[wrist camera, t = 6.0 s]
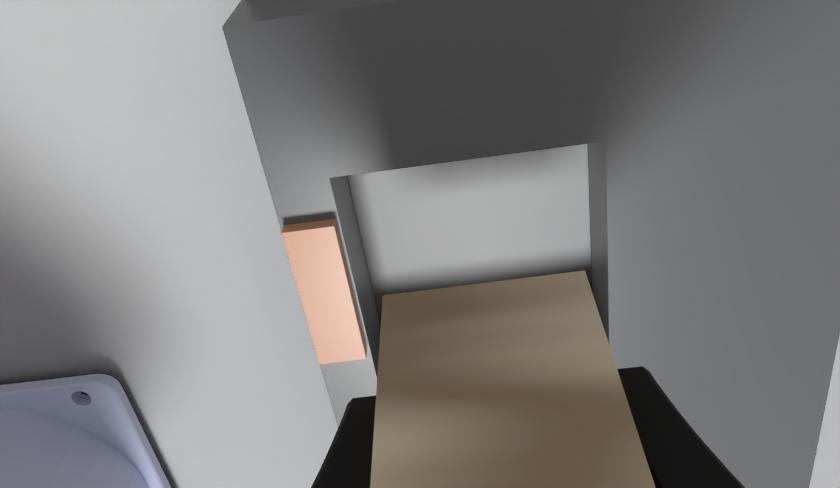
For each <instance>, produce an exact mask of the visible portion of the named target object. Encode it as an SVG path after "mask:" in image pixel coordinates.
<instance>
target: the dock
mask: <svg viewBox="0 0 840 488" xmlns="http://www.w3.org/2000/svg"><path fill="white" fill-rule="evenodd" d="M223 31H224V34H225V38H226V41H227V45H228V48H229V52H230V55H231V59H232V62H233V65H234V69H235V72H236V76H237V79H238V83H239V86H240V90H241V93H242V97H243V100H244V104H245V107H246V110H247V114H248V117H249V121H250V124H251V128H252V131H253V135H254V138H255V142H256V145H257V148H258V152H259V155H260V159H261V162H262V166H263V169H264V173H265V176H266V180H267V183H268V186H269V190H270V193H271V197H272V200H273V204H274V207H275V211H276V214H277V218H278V221H279V224H280V228H281V231H282V232H281V234H282V237H283V241H284V244H285V248H286V251H287V255H288V258H289V261H290V265H291V268H292V272H293V275H294V279H295V282H296V286H297V289H298V292H299V296H300V299H301V303H302V306H303V310H304V313H305V317H306V320H307V324H308V327H309V330H310V334H311V337H312V341H313V344H314V348H315V351H316V355H317V358H318V361H319V364H320V366H321V370H322V373H323V377H324V380H325V383H326V387H327V390H328V394H329V397H330V401H331V404H332V408H333V411H334V415H335V418H336V422H337V425H338V428H339V425H340V422H341V420H342V417H343V415H344V412H345V409H346V406H347V404H348V403H349V402H350V401H351V399H352V398H358V397H367V396H376V390H377V374H378V359H379V344H380V328H381V326H380V322H379V317H378V313H377V309H376V304H375V300H374V295H373V291H372V286H371V282H370V277H369V273H368V268H367V264H366V259H365V255H364V250H363V246H362V241H361V237H360V232H359V228H358V224H357V219H356V215H355V210H354V206H353V201H352V197H351V192H350V188H349V183H348V179H347V175H355V174H362V173H370V172H377V171H385V170H392V169H400V168H407V167H415V166H422V165H430V164H437V163H445V162H452V161H459V160H467V159H474V158H482V157H489V156H497V155H504V154H512V153H519V152H527V151H534V150H542V149H549V148H557V147H564V146H572V145H579V144H587V143H588V165H589V200H590V235H591V270H592V293H593V296H594V300H595V303H596V306H597V309H598V312H599V315H600V318H601V321H602V324H603V327H604V330H605V333H606V336H607V340H608V343H609V346H610V349H611V352H612V355H613V358H614V361H615V364H616V367H617V369H622V368H631V367H640V366H643V367H644V368H646V369H647V370H648V371H650V373H651V374H652V376H653V377H654V379H655V380H656V382H657V383H658V385H659V386H660V387H661V389H662V390H663V391H664V393H665V394H666V395H667V397H668V398H669V399H670V401H671V402H672V403H673V405H674V406H675V407H676V409H677V410H678V411H679V412H680V414H681V415H682V416H683V417H684V419H685V420H686V421H687V422H688V424H689V425H690V426H691V427H692V429H693V430H694V431H695V432H696V433H697V434H698V436H699V437H700V438H701V439H702V440H703V442H704V443H705V444H706V445H707V446H708V447H709V448H710V450H711V451H712V452H713V453H714V454H715V455H716V456H717V457H718V459H719V460H720V461H721V462H722V463H723V464H724V465H725V466H726V468H727V469H728V470H729V471H730V472H731V473H732V474H733V475H734V476H735V477H736V478H737V479H738V481H739V482H740V483H741V484H742V485H743V486H744V487H745V488H809V485H810V480H811V475H812V470H813V465H814V460H815V455H816V450H817V445H818V440H819V435H820V430H821V425H822V420H823V415H824V410H825V405H826V400H827V394H828V389H829V384H830V379H831V374H832V369H833V364H834V359H835V354H836V349H837V344H838V339H839V334H840V0H241V2H240V3H239V4H238V6H237V7H236V9H235V10H234V11H233V13H232V14H231V16H230V17H229V18H228V20H227V21H226V23H225V24H224V25H223Z"/></svg>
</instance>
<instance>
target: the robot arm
mask: <svg viewBox="0 0 840 488" xmlns="http://www.w3.org/2000/svg"><path fill="white" fill-rule="evenodd" d="M617 370H618V373H619V377H620V380H621V383H622V386H623V389H624V392H625V395H626V398H627V401H628V404H629V407H630V410H631V413H632V417H633V420H634V423H635V426H636V429H637V432H638V435H639V438H640V441H641V444H642V447H643V450H644V454H645V457H646V460H647V463H648V466H649V469H650V472H651V475H652V478H653V481H654V484H655V487H656V488H745V487H744V486H743V485H742V484H741V483H740V482H739V481H738V479H737V478H736V477H735V476H734V475H733V474H732V473H731V472H730V471H729V470H728V469H727V468H726V466H725V465H724V464H723V463H722V462H721V461H720V460H719V459H718V457H717V456H716V455H715V454H714V453H713V452H712V451H711V450H710V448H709V447H708V446H707V445H706V444H705V443H704V442H703V440H702V439H701V438H700V437H699V436H698V434H697V433H696V432H695V431H694V430H693V429H692V427H691V426H690V425H689V424H688V422H687V421H686V420H685V419H684V417H683V416H682V415H681V414H680V412H679V411H678V410H677V409H676V407H675V406H674V405H673V403H672V402H671V401H670V399H669V398H668V397H667V395H666V394H665V393H664V391H663V390H662V389H661V387H660V386H659V385H658V383H657V382H656V380H655V379H654V377H653V376H652V374H651V373H650V371H648V370H647V369H646V368H644V367H643V366H640V367H631V368H622V369H617ZM79 391H80V392H84V393H87V394H88V395H84V394H82V393H80V392H79ZM375 405H376V396H367V397H358V398H352V399H351V401H350V402H349V403H348V404H347V406H346V409H345V412H344V415H343V417H342V420H341V422H340V425H339V428H338V430H337V433H336V435H335V437H334V440H333V442H332V444H331V447H330V449H329V451H328V453H327V456H326V458H325V460H324V462H323V464H322V467H321V469H320V471H319V473H318V475H317V477H316V479H315V481H314V483H313V485H312V487H311V488H370V481H371V466H372V451H373V435H374V420H375ZM0 488H171V486H170V484H169V482H168V480H167V478H166V476H165V474H164V472H163V470H162V468H161V466H160V464H159V461H158V459H157V457H156V455H155V453H154V451H153V449H152V447H151V445H150V443H149V441H148V439H147V437H146V435H145V433H144V431H143V429H142V427H141V425H140V423H139V420H138V418H137V416H136V414H135V412H134V410H133V408H132V406H131V404H130V402H129V400H128V398H127V396H126V394H125V392H124V390H123V388H122V386H121V384H120V383H119V382H118V380H116V379H115V378H113V377H112V376H109V375H106V374H91V375H82V376H74V377H65V378H57V379H48V380H40V381H31V382H22V383H14V384H5V385H0Z"/></svg>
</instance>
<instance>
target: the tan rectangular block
mask: <svg viewBox="0 0 840 488" xmlns="http://www.w3.org/2000/svg"><path fill="white" fill-rule="evenodd" d="M370 488H656V487H655V484H654V481H653V478H652V475H651V472H650V469H649V466H648V463H647V460H646V457H645V454H644V450H643V447H642V444H641V441H640V438H639V435H638V432H637V429H636V426H635V423H634V420H633V417H632V413H631V410H630V407H629V404H628V401H627V398H626V395H625V392H624V389H623V386H622V383H621V380H620V377H619V373H618V370H617V367H616V364H615V361H614V358H613V355H612V352H611V349H610V346H609V343H608V340H607V336H606V333H605V330H604V327H603V324H602V321H601V318H600V315H599V312H598V309H597V306H596V303H595V300H594V296H593V293H592V290H591V287H590V284H589V281H588V278H587V275H586V272H585V270H584V271H576V272H568V273H560V274H552V275H544V276H536V277H527V278H519V279H511V280H503V281H495V282H487V283H479V284H470V285H462V286H454V287H446V288H438V289H430V290H422V291H414V292H405V293H397V294H389V295H383V298H382V313H381V328H380V344H379V359H378V374H377V390H376V405H375V420H374V435H373V451H372V466H371V481H370Z"/></svg>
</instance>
